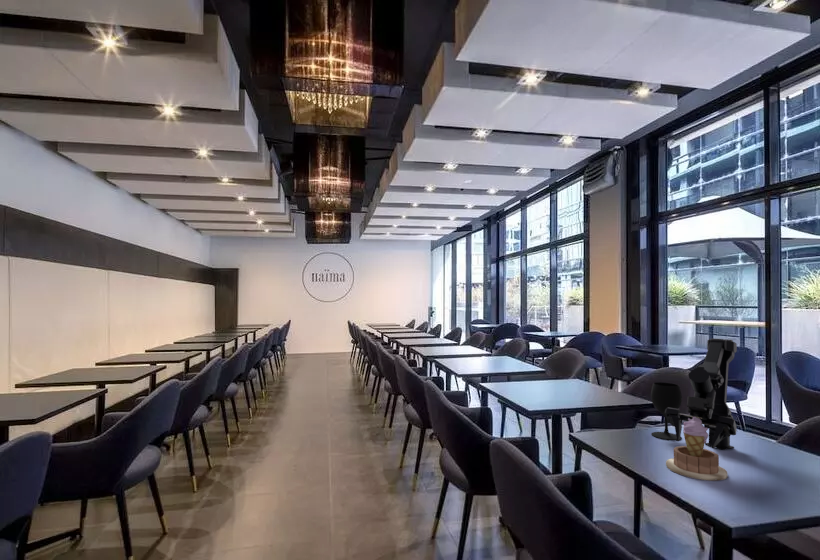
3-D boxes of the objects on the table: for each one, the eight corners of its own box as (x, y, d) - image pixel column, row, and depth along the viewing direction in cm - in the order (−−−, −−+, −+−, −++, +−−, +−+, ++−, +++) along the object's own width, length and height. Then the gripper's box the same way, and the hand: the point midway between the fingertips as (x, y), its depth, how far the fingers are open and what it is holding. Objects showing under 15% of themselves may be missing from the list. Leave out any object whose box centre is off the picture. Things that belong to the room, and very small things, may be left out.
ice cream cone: (708, 465, 141) (707, 416, 142) (710, 472, 136) (709, 421, 136) (683, 462, 144) (682, 414, 145) (684, 468, 139) (683, 418, 140)
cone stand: (690, 458, 150) (690, 441, 150) (740, 476, 135) (740, 458, 135) (654, 464, 145) (654, 446, 145) (701, 483, 130) (701, 464, 130)
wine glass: (678, 434, 178) (678, 383, 179) (685, 442, 168) (684, 387, 169) (649, 431, 181) (648, 381, 182) (653, 438, 171) (653, 385, 172)
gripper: (665, 382, 150) (655, 422, 142) (734, 391, 137) (727, 435, 129) (673, 402, 156) (663, 442, 147) (739, 413, 143) (733, 457, 134)
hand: (694, 443), depth 139 cm, fingers open, 9 cm apart
